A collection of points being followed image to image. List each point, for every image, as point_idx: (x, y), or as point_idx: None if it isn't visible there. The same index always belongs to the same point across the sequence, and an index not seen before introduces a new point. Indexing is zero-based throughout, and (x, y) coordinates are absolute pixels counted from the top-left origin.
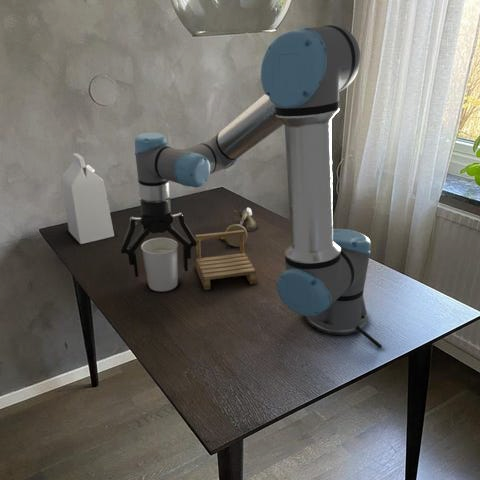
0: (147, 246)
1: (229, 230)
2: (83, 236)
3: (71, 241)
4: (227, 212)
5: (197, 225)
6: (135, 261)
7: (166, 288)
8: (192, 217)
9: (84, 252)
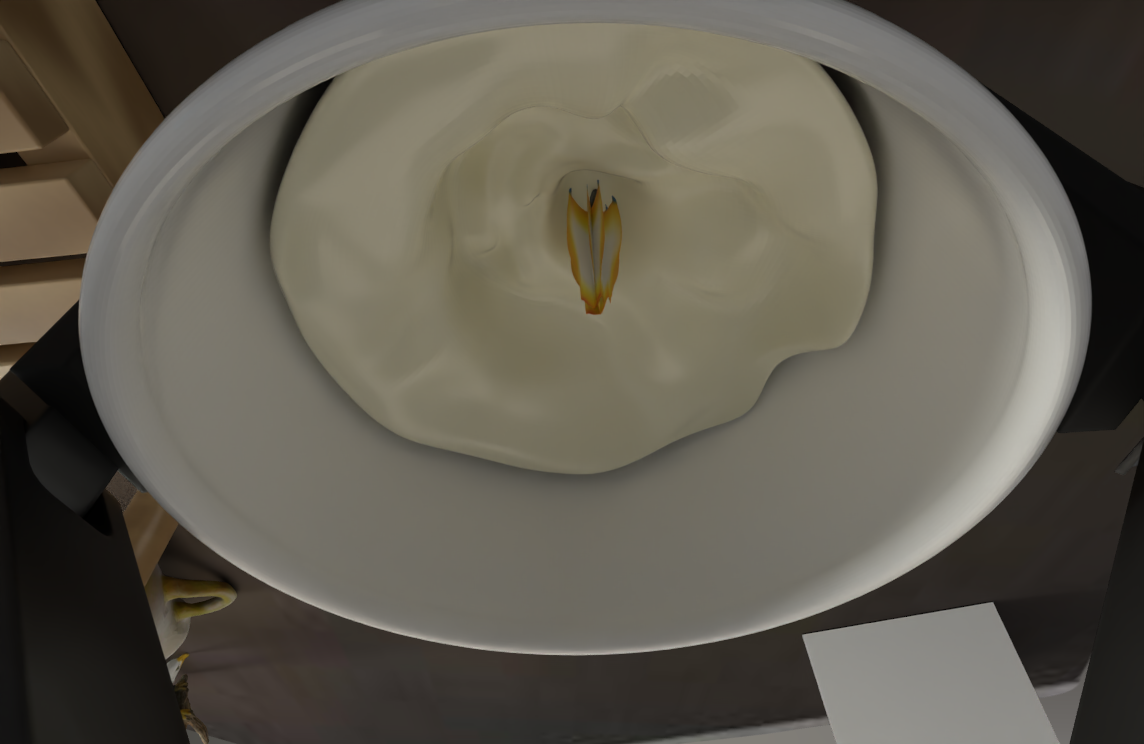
0: (778, 517)
1: None
2: (987, 645)
3: (1020, 618)
4: (287, 709)
5: (400, 664)
6: (1088, 188)
7: None
8: (434, 697)
9: (1015, 551)
